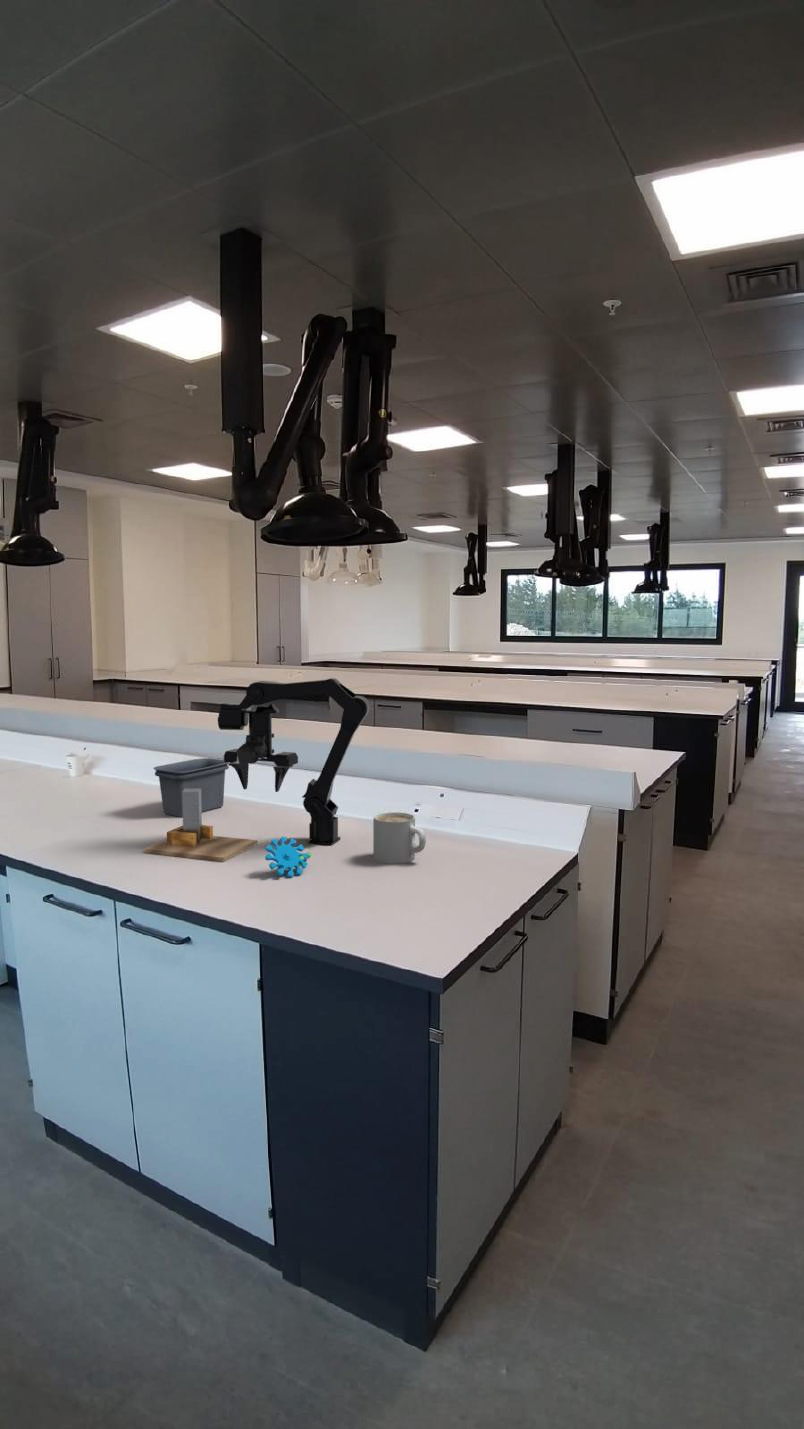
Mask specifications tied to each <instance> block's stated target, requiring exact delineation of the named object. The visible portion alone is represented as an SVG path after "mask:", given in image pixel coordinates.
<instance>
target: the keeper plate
mask: <svg viewBox="0 0 804 1429" xmlns="http://www.w3.org/2000/svg"><path fill="white" fill-rule="evenodd" d="M257 845H258V840H257V839H248V838H238V837H229V836H219V835H214V825H206V824H202V840H201V842H200V843H196V833H189V832H183V825H181V826H178V827H176V828H174V829H171V830H168V831H167V832H166V839H164V840H163V841H159V842H157V843H156V844H155V843H154V844H153V845H150V846H148V847H146V848H144V853H145V854H153V855H159V856H160V855H161V856H169V857H179V858H187V859H195V860H204V861H213V862H219V863H221V862H222V863H224V862H227V861H229V860H230V859H232V858H234V857H236V856H238V855H239V854H242V853H243V852H245V851H247V850H249V849H251V848H253V847H254V846H257Z"/></svg>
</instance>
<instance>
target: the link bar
mask: <svg viewBox="0 0 804 1429" xmlns="http://www.w3.org/2000/svg"><path fill="white" fill-rule="evenodd" d="M182 805H183V817H182V826H183V832H189V833H196V843H200V842H201V840H202V825H203V822H202V821H203V820H202V815H203V814H202V813H203V812H202V809H201V789H184V791H183V792H182Z"/></svg>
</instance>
